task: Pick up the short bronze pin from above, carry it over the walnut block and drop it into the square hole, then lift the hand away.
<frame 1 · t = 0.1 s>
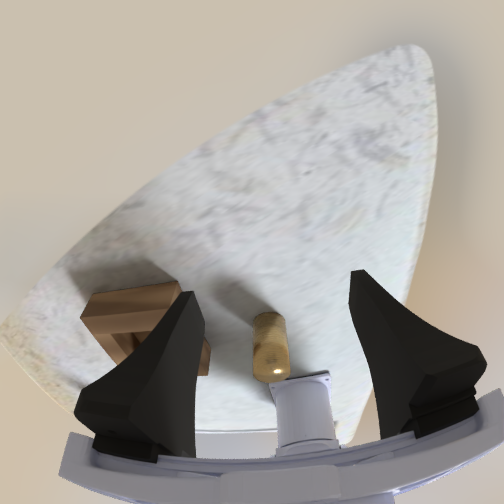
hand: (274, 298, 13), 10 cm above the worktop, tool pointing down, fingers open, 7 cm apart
bronze pin: (269, 323, 28), on the worktop
hole block: (152, 324, 28), on the worktop
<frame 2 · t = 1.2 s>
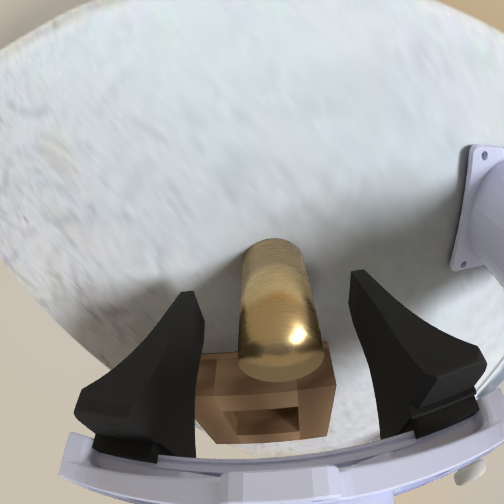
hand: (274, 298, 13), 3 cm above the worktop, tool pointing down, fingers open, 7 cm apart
bronze pin: (273, 265, 15), on the worktop
salt shaker: (446, 399, 27), on the worktop
hole block: (263, 385, 22), on the worktop
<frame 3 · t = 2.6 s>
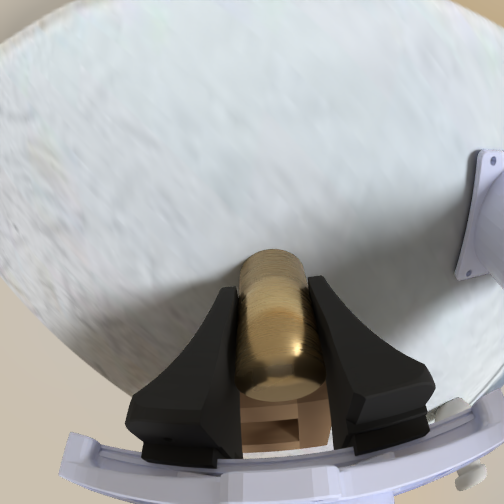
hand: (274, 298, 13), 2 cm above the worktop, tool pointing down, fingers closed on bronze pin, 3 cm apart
bronze pin: (272, 276, 14), on the worktop, touching gripper
salt shaker: (448, 404, 27), on the worktop
hole block: (262, 395, 21), on the worktop
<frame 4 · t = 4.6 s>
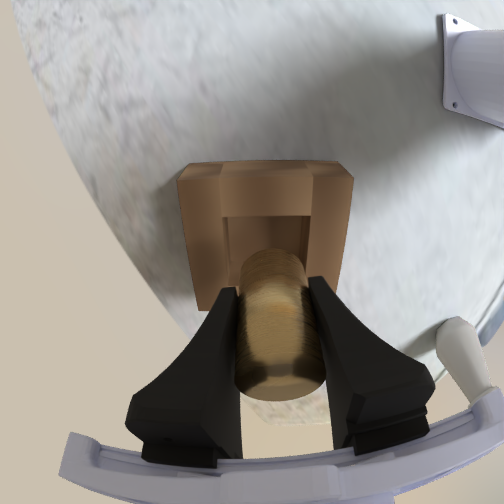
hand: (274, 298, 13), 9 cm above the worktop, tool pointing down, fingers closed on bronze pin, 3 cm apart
bronze pin: (272, 275, 14), point 7 cm above the worktop, touching gripper
salt shaker: (447, 327, 29), on the worktop
hole block: (264, 226, 21), on the worktop
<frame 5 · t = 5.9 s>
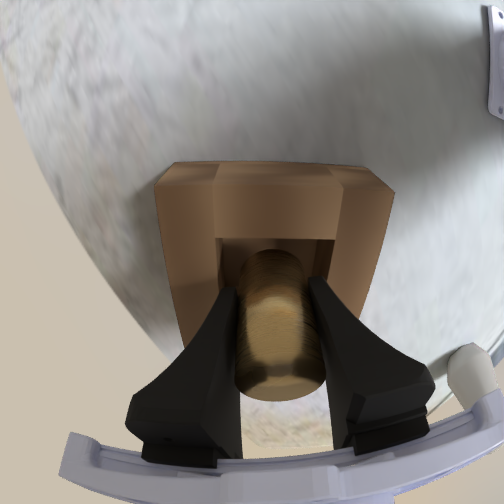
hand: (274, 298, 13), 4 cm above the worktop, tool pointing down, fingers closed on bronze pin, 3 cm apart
bronze pin: (272, 276, 14), point 3 cm above the worktop, touching gripper
salt shaker: (460, 353, 25), on the worktop
hole block: (269, 246, 17), on the worktop
when the fingers open (4 cm above the worktop, at t = 6.9 s): bronze pin drops 2 cm, resting on hole block.
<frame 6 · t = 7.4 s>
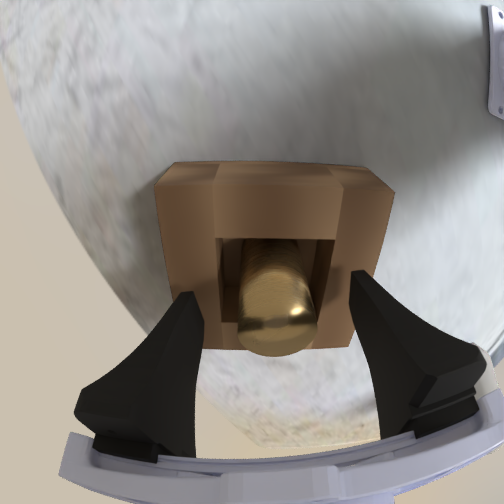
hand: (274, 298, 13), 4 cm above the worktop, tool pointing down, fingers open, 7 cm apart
bronze pin: (270, 251, 16), point 1 cm above the worktop, touching hole block
salt shaker: (460, 353, 25), on the worktop
hole block: (269, 246, 17), on the worktop
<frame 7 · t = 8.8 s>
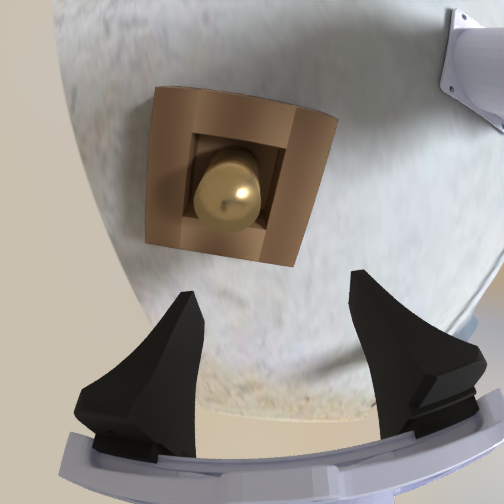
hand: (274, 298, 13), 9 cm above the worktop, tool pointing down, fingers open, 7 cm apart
bronze pin: (234, 168, 19), resting on hole block
hole block: (234, 166, 19), on the worktop
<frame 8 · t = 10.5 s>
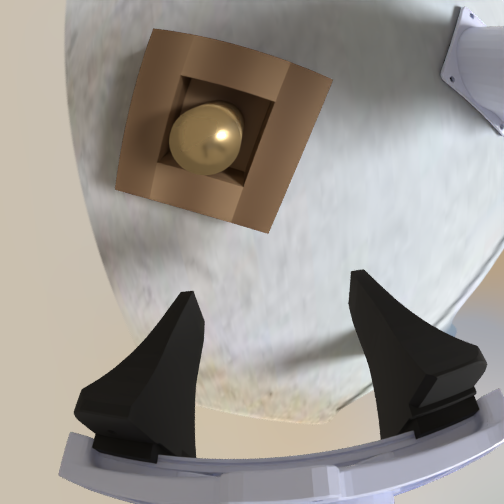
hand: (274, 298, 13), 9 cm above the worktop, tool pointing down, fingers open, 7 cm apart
bronze pin: (218, 123, 17), resting on hole block
hole block: (219, 123, 17), on the worktop
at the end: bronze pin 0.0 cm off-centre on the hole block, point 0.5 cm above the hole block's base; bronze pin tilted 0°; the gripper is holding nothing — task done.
